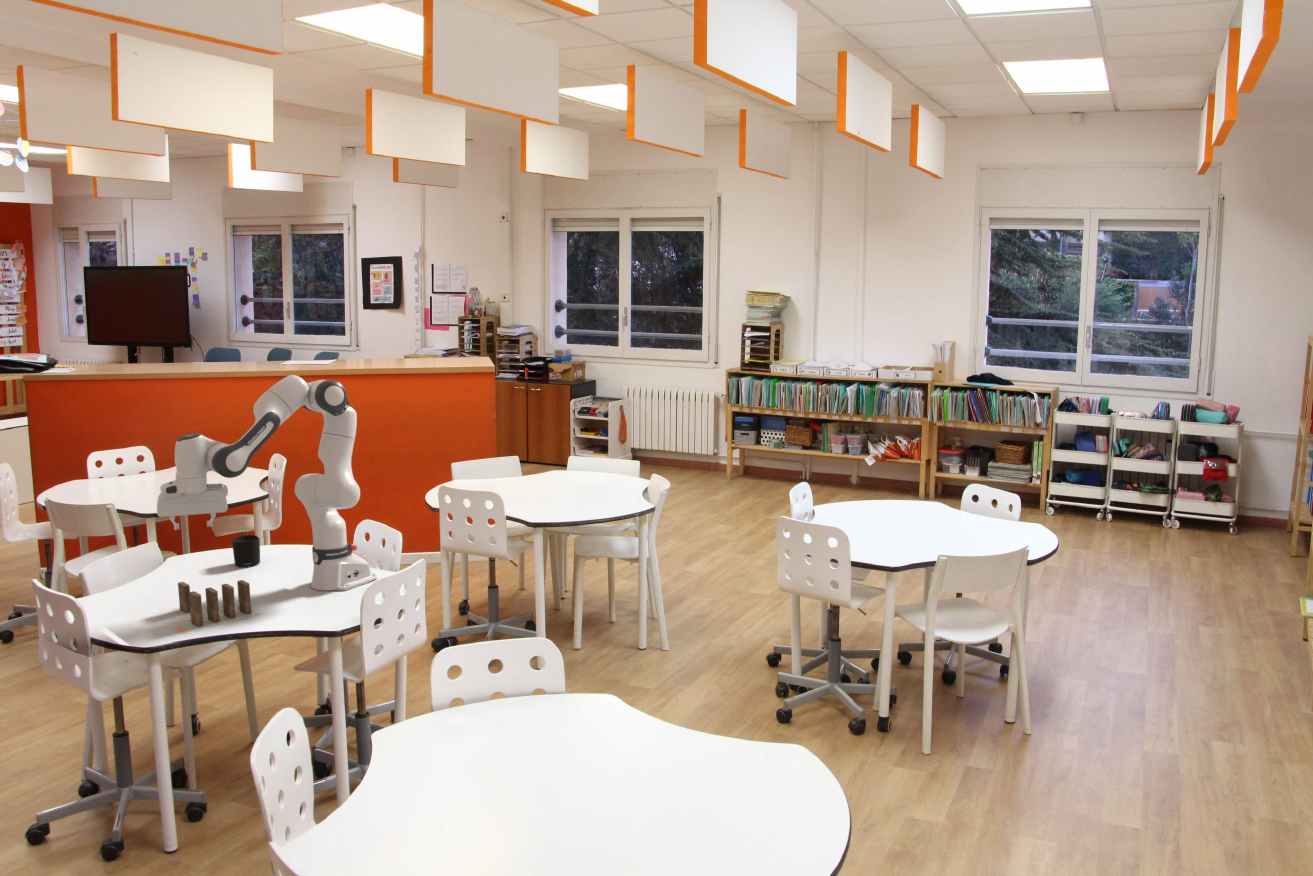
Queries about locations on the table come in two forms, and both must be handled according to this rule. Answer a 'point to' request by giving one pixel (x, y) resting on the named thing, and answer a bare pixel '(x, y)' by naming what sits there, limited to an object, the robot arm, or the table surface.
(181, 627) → the domino board
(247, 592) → the domino
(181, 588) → the end domino
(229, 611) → the domino
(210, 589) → the domino
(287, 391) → the robot arm
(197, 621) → the domino
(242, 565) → the pen holder
